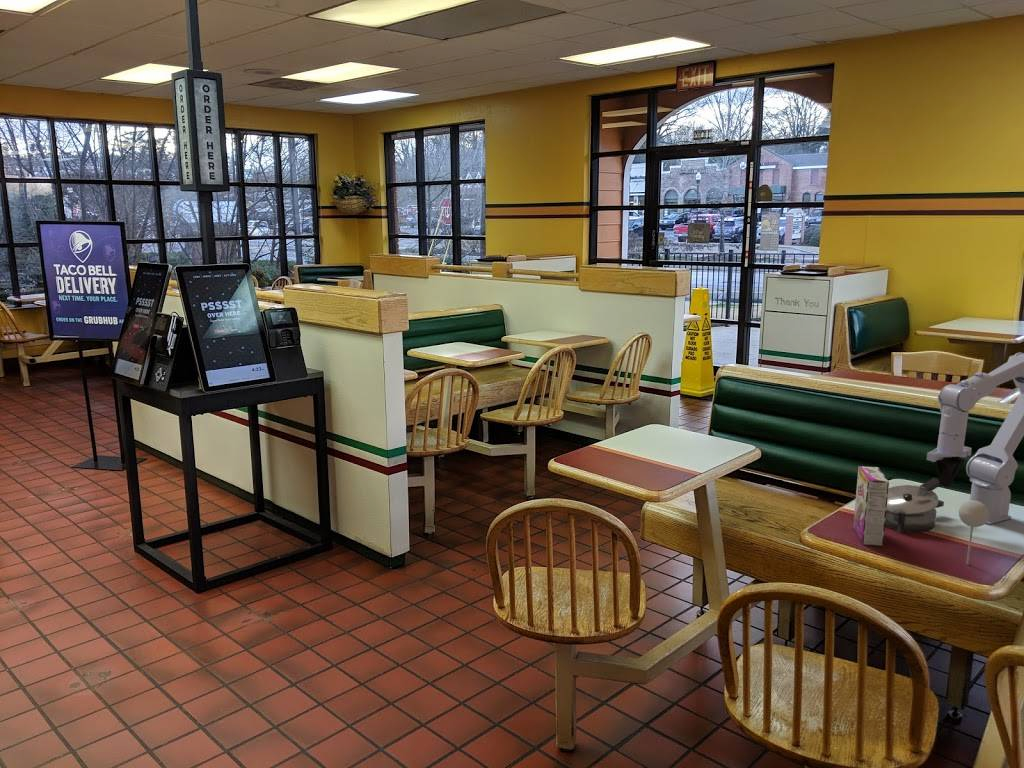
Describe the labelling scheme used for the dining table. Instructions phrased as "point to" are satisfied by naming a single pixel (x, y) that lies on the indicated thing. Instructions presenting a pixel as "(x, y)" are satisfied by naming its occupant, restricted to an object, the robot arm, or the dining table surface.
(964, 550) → the dining table surface
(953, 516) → the dining table surface
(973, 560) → the dining table surface
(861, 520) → the candy bar box
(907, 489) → the lid
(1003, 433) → the robot arm
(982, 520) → the lollipop
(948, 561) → the dining table surface
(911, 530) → the pot
